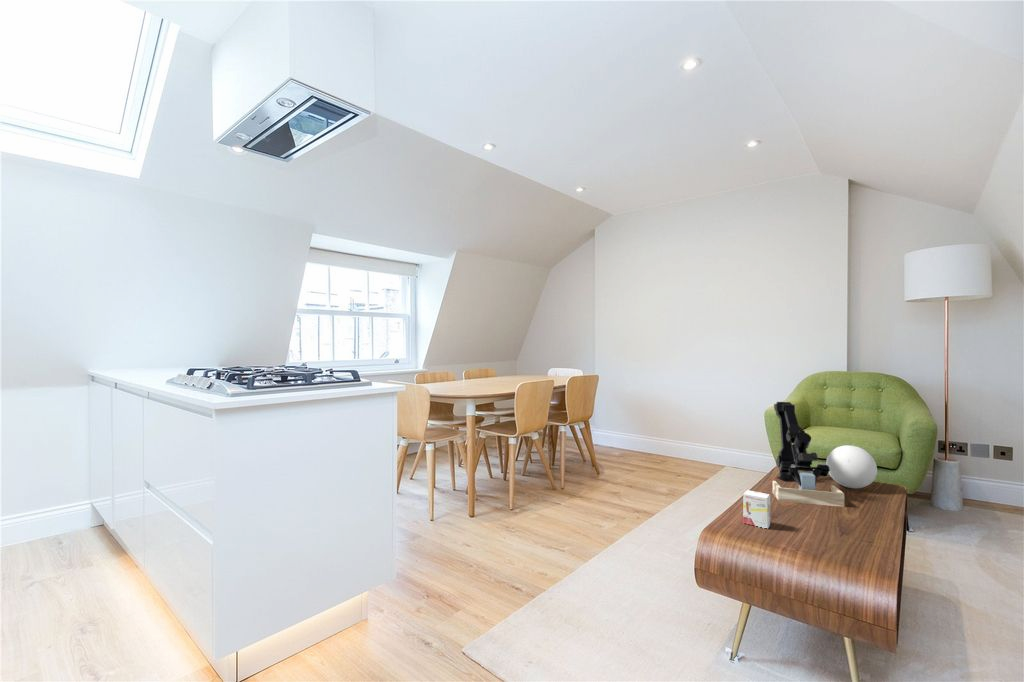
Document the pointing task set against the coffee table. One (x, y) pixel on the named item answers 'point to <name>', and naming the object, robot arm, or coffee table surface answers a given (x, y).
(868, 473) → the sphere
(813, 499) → the birch crate
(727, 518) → the coffee table surface
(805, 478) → the pale blue block
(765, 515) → the ink box
